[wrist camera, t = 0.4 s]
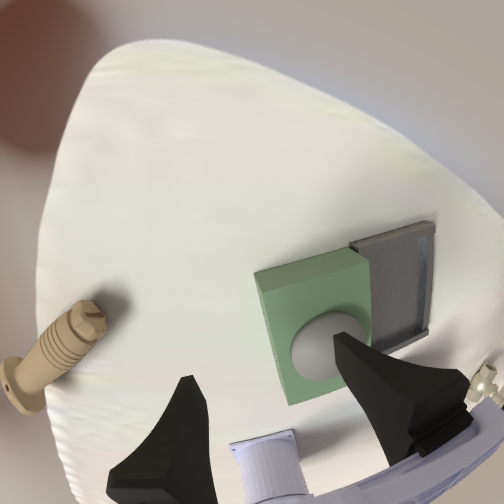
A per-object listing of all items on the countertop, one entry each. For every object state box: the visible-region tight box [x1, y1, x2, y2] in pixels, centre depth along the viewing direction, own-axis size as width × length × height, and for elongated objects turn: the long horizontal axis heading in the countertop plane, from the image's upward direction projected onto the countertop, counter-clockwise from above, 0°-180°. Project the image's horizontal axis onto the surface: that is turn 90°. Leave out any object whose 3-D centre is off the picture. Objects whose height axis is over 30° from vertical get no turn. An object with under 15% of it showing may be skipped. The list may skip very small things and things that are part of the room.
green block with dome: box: [254, 247, 371, 406], centre depth 22 cm, size 12×8×4 cm
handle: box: [0, 300, 107, 415], centre depth 19 cm, size 5×6×15 cm
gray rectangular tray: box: [350, 221, 435, 355], centre depth 24 cm, size 13×9×2 cm
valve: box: [466, 362, 504, 411], centre depth 29 cm, size 7×7×12 cm
